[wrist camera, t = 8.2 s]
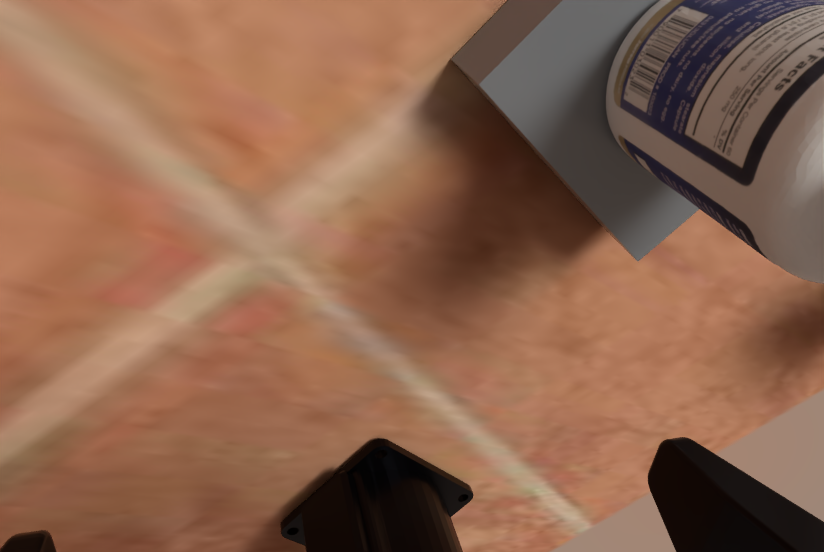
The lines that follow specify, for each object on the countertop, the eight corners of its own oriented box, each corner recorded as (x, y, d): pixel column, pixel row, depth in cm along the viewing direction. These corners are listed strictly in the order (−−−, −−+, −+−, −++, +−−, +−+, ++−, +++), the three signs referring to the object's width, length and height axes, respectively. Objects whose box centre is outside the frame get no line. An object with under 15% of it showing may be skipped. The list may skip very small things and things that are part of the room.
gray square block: (805, 46, 23) (864, 66, 20) (602, 226, 25) (637, 261, 23) (693, -192, 18) (757, -196, 16) (450, 59, 20) (478, 84, 18)
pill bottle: (769, 121, 21) (1116, 293, 13) (613, 189, 21) (865, 405, 13) (770, -59, 18) (1230, 22, 10) (585, 21, 17) (898, 169, 10)
